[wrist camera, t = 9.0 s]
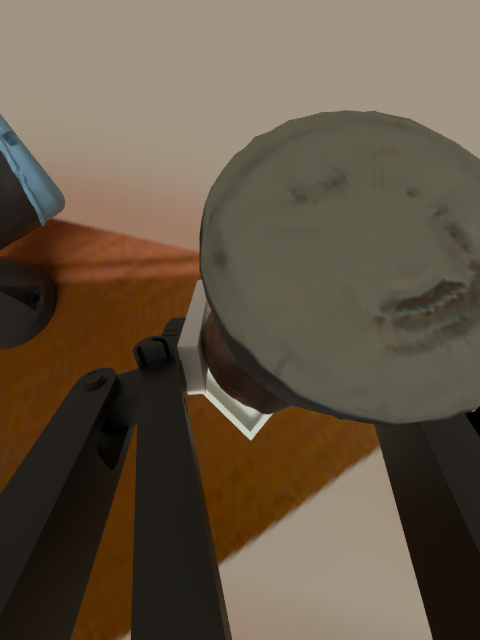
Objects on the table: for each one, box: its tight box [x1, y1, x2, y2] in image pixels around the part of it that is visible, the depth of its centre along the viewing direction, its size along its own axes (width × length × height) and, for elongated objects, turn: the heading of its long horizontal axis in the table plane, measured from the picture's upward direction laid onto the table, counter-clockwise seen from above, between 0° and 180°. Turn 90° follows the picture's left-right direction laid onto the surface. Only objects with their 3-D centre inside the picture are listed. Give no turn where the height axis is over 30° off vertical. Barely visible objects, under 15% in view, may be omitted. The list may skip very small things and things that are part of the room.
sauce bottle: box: [200, 111, 480, 426], centre depth 12 cm, size 7×6×20 cm
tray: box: [204, 368, 273, 440], centre depth 34 cm, size 16×16×2 cm
